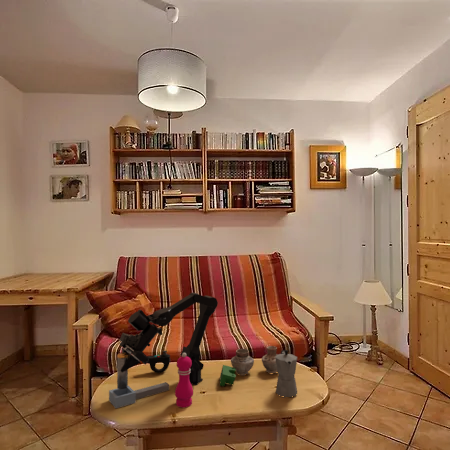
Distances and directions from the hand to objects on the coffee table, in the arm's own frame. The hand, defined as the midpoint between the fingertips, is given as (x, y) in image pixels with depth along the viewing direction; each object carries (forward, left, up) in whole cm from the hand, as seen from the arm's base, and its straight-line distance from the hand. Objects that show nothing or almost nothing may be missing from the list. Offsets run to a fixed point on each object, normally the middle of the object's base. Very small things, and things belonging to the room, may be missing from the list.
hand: (119, 369), depth 141 cm
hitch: (-5, -8, -13) cm, 16 cm away
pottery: (-40, -52, -13) cm, 67 cm away
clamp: (-32, -36, -13) cm, 49 cm away
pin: (-1, -1, -7) cm, 7 cm away
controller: (+4, -32, -13) cm, 35 cm away
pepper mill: (-24, -10, -13) cm, 29 cm away
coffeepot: (-58, -37, -13) cm, 70 cm away
